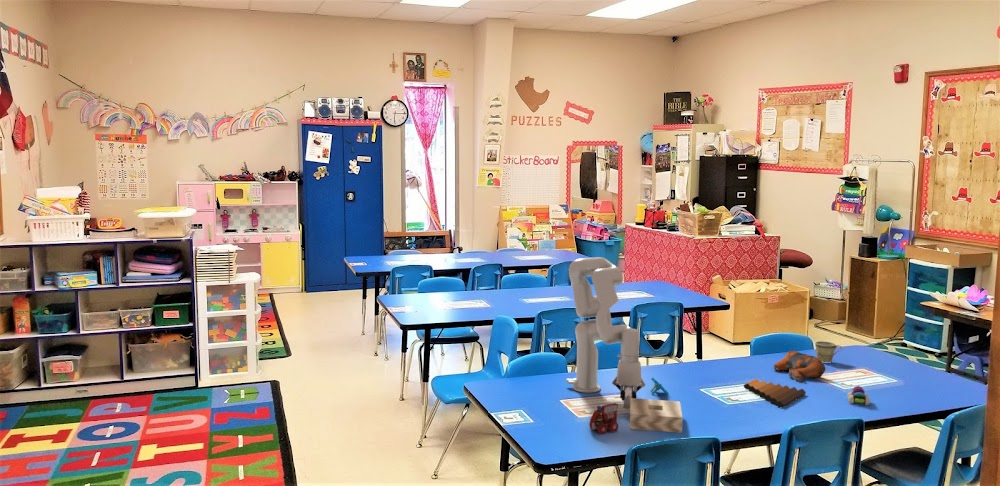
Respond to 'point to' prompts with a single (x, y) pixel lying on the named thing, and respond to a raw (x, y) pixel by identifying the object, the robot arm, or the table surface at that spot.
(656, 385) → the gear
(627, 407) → the steel peg
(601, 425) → the toy fire truck
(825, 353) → the ceramic cup
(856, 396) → the multicoloured small arched block
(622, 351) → the robot arm
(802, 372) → the orange lumpy piece
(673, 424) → the hole block
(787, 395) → the pan flute
